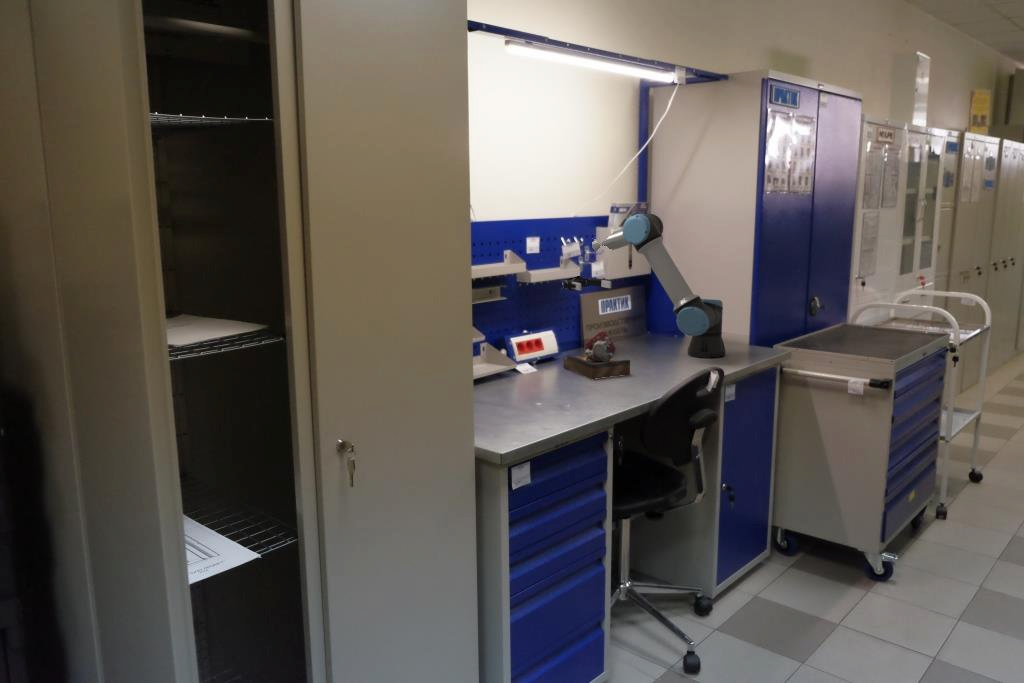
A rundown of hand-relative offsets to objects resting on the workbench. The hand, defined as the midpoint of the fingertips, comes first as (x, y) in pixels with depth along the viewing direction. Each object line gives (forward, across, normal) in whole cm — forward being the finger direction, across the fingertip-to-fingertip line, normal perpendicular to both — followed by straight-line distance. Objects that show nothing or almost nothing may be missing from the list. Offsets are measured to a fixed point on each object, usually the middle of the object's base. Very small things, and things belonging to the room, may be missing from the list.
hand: (595, 285), depth 296 cm
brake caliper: (+20, +10, -25) cm, 34 cm away
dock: (+18, +10, -30) cm, 36 cm away
